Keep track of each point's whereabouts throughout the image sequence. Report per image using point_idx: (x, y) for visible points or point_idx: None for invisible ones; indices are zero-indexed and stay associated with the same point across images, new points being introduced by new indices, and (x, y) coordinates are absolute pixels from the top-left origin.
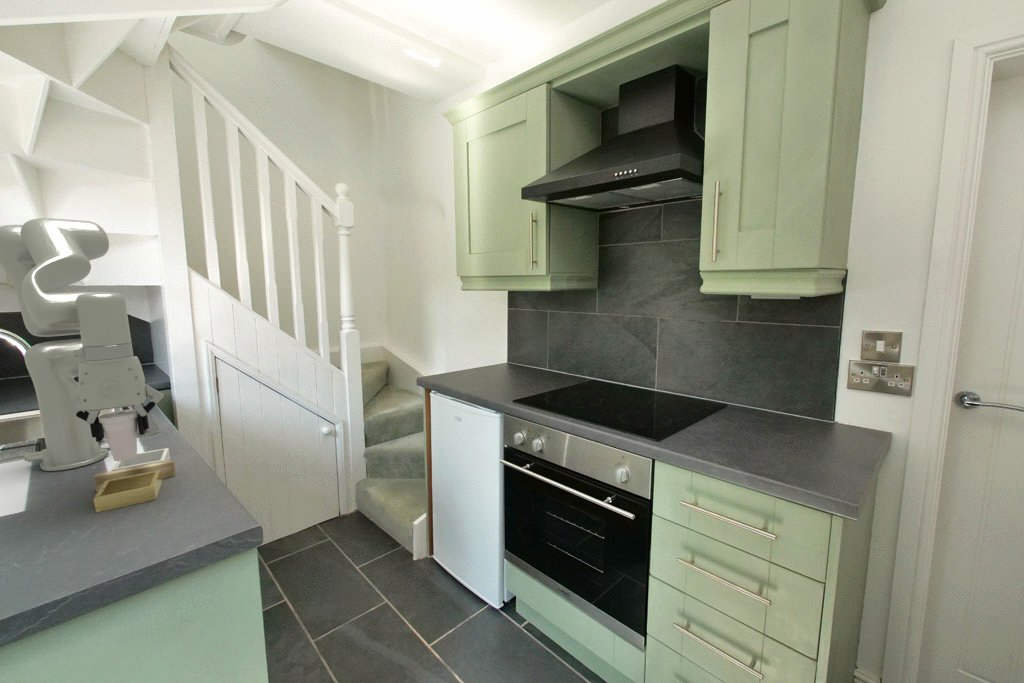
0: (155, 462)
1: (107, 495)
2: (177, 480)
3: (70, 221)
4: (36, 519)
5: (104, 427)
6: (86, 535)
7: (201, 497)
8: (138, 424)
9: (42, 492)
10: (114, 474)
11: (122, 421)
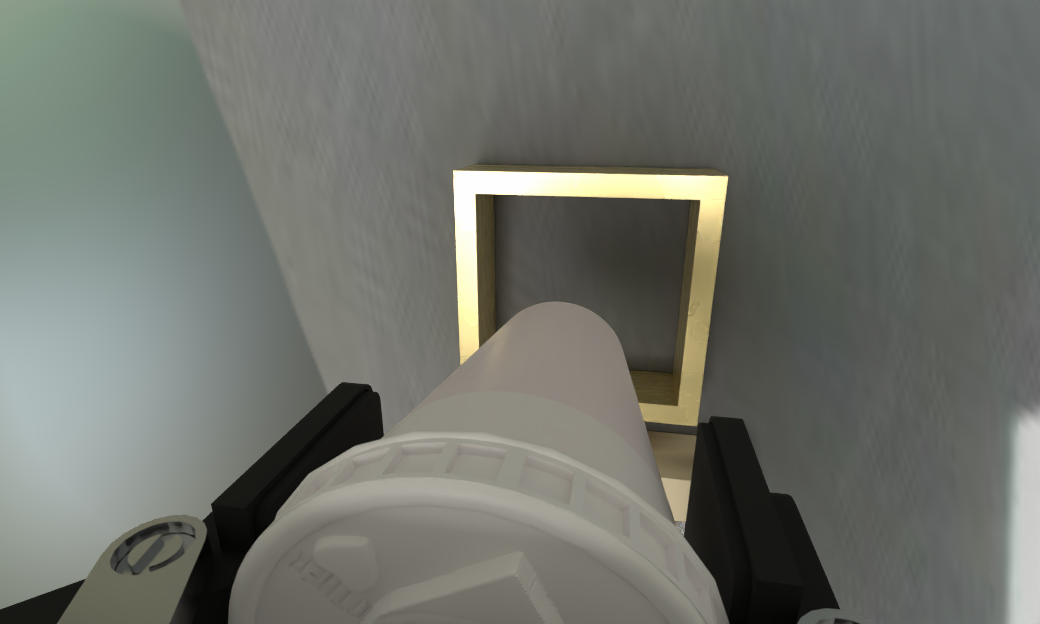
0: None
1: (664, 183)
2: (420, 352)
3: None
4: (965, 266)
5: (655, 500)
6: None
7: (282, 54)
8: (313, 449)
9: (951, 592)
10: (660, 474)
11: (406, 449)
